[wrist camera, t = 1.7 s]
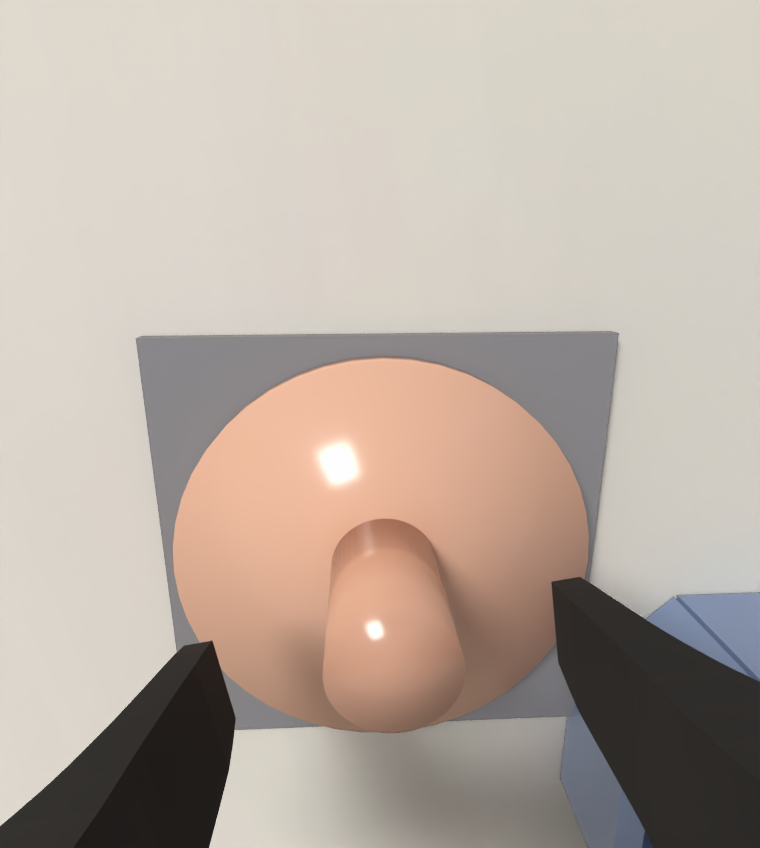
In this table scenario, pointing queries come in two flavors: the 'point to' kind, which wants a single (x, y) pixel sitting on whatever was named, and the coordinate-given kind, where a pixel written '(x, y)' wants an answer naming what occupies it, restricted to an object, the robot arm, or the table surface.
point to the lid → (379, 544)
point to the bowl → (582, 759)
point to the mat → (291, 354)
